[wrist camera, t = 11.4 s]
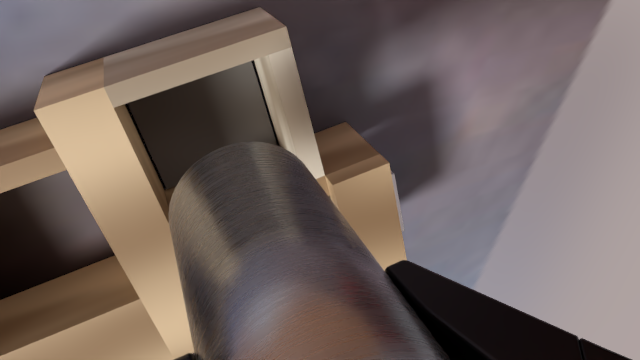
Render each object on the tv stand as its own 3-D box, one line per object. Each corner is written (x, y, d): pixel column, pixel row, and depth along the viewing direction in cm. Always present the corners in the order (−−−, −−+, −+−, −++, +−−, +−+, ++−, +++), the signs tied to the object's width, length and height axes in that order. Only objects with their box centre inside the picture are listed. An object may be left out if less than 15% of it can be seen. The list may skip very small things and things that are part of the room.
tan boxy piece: (297, 140, 20) (324, 175, 17) (164, 189, 19) (173, 234, 17) (259, 7, 17) (286, 26, 15) (103, 57, 16) (103, 87, 14)
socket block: (367, 222, 23) (409, 273, 20) (21, 366, 20) (6, 451, 17) (316, -12, 18) (361, 8, 15) (-161, 142, 15) (-229, 206, 12)
